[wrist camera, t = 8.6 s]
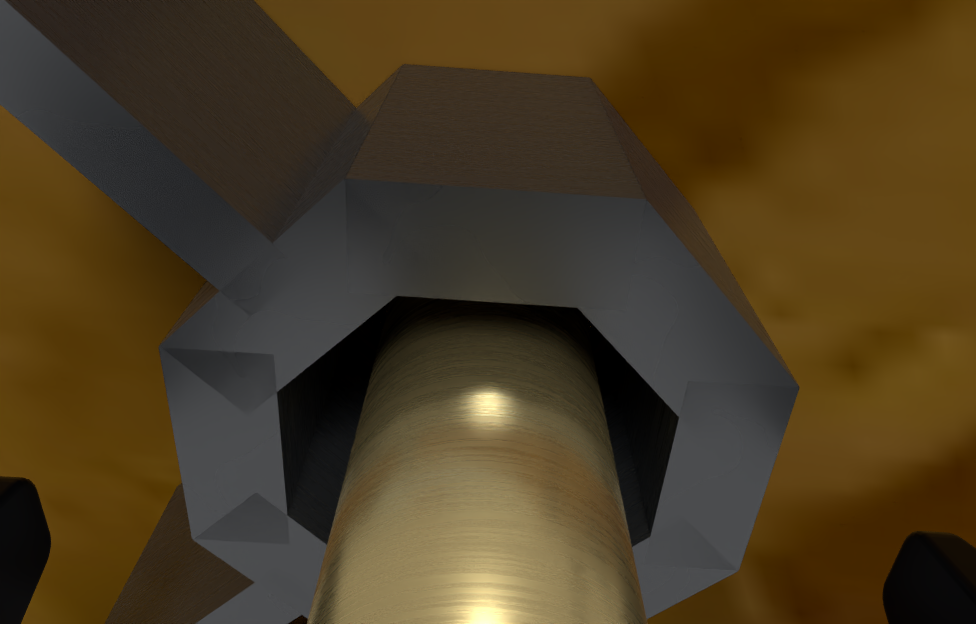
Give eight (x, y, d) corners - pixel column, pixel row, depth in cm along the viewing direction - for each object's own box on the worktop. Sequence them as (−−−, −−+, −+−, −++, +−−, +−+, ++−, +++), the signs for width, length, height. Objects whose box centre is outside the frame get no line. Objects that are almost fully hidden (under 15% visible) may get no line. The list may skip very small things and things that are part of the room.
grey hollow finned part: (758, 291, 13) (886, 493, 9) (314, 584, 17) (250, 826, 13) (253, -351, 9) (24, -566, 5) (-187, 228, 13) (-538, 407, 8)
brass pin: (563, 351, 14) (674, 1144, 5) (399, 341, 14) (231, 1127, 5) (585, 197, 12) (792, 941, 4) (401, 184, 12) (170, 915, 4)
